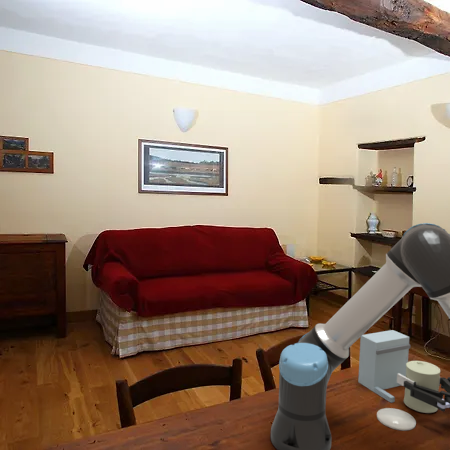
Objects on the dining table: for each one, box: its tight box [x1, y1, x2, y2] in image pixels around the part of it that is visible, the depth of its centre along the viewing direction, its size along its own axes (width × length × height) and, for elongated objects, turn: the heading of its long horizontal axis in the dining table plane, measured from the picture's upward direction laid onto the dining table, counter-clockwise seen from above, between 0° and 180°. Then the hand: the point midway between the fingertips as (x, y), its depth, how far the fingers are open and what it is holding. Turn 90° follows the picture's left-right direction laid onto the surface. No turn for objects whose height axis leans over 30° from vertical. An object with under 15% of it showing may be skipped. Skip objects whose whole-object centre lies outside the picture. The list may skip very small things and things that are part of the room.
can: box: [403, 360, 441, 414], centre depth 121 cm, size 9×9×12 cm
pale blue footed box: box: [357, 329, 411, 403], centre depth 132 cm, size 14×14×16 cm
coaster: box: [376, 407, 417, 432], centre depth 114 cm, size 10×10×1 cm
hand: (409, 375), depth 125 cm, fingers closed on can, 9 cm apart
